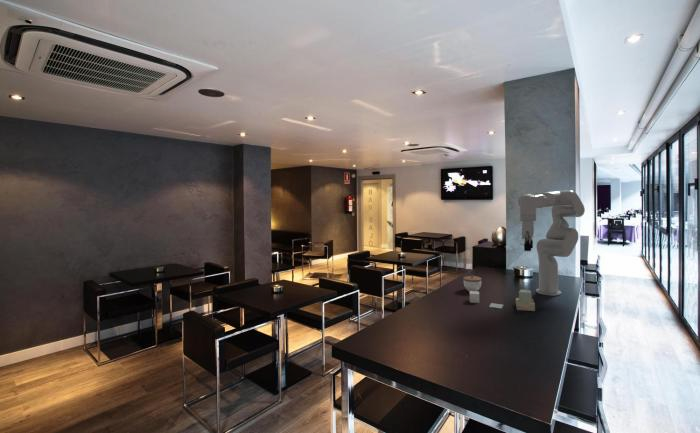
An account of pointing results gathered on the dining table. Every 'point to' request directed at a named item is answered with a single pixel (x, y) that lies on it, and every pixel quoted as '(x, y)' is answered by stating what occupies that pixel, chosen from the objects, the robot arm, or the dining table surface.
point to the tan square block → (525, 305)
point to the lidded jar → (472, 283)
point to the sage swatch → (496, 305)
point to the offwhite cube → (474, 296)
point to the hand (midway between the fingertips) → (528, 249)
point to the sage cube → (525, 296)
